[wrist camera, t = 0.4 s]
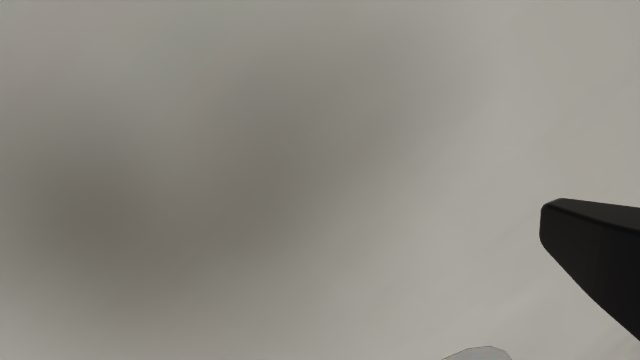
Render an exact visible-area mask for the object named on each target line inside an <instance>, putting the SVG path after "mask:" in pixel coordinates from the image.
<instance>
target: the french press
mask: <svg viewBox="0 0 640 360" xmlns="http://www.w3.org/2000/svg"><path fill="white" fill-rule="evenodd" d="M443 360H512V359H511V358H510V356H509V355H508V354H507V352H506V351H503V350H500V349H497V348H494V347H491V346H487V347H479V348H470V349H466V350H464V351H462V352H459V353H457V354H455V355H452V356H450V357H447V358H445V359H443Z"/></svg>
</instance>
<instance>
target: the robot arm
mask: <svg viewBox="0 0 640 360" xmlns="http://www.w3.org/2000/svg"><path fill="white" fill-rule="evenodd" d="M539 237H540V241H541V243H542V245H543V247H544V248H545V249H546V250H547V252H548V253H549V254H550V255H551V256H552V257H553V258H554V259H555V260H556V261H557V262H558V263H559V265H560V266H561V267H562V268H563V269H564V270H565V271H566V272H567V273H568V274H569V275H570V276H571V277H572V279H573V280H574V281H575V282H576V283H577V284H578V285H579V286H580V287H581V288H582V289H583V290H584V291H585V292H586V293H587V294H588V295H589V296H590V297H591V298H592V299H593V300H594V301H595V302H596V303H597V304H598V305H599V306H600V307H601V308H602V309H604V310H605V311H606V312H607V313H608V314H609V315H610V316H612V317H613V318H614V319H615V320H616V321H617V322H618V323H620V324H621V325H622V326H623V327H624V328H625V329H626V330H628V331H629V332H630V333H631V334H632V335H633V336H634V337H636V338H637V339H638V340H639V341H640V208H638V207H630V206H622V205H614V204H606V203H598V202H591V201H583V200H575V199H567V198H559V199H556V200H554V201H551V202H548V203H546V204H544V205H543V207H542V209H541V217H540V231H539Z"/></svg>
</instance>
